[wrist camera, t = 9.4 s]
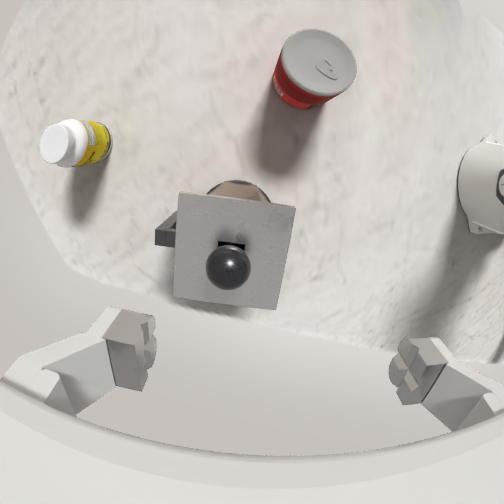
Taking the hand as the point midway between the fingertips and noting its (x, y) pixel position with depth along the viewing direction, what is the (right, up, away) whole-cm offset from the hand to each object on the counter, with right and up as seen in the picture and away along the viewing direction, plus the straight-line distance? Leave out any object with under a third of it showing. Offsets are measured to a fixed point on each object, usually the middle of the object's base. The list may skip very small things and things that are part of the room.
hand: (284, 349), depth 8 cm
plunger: (-3, +7, +29) cm, 30 cm away
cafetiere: (-4, +8, +31) cm, 32 cm away
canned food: (+6, +26, +25) cm, 36 cm away
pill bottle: (-24, +19, +27) cm, 41 cm away
